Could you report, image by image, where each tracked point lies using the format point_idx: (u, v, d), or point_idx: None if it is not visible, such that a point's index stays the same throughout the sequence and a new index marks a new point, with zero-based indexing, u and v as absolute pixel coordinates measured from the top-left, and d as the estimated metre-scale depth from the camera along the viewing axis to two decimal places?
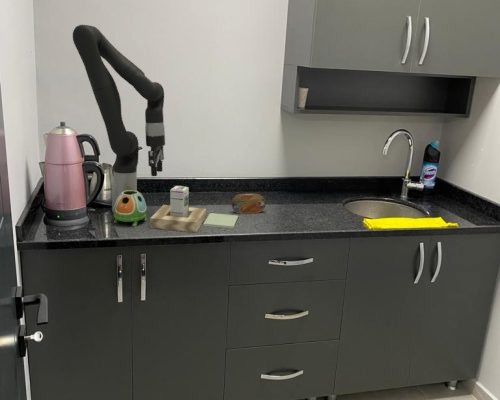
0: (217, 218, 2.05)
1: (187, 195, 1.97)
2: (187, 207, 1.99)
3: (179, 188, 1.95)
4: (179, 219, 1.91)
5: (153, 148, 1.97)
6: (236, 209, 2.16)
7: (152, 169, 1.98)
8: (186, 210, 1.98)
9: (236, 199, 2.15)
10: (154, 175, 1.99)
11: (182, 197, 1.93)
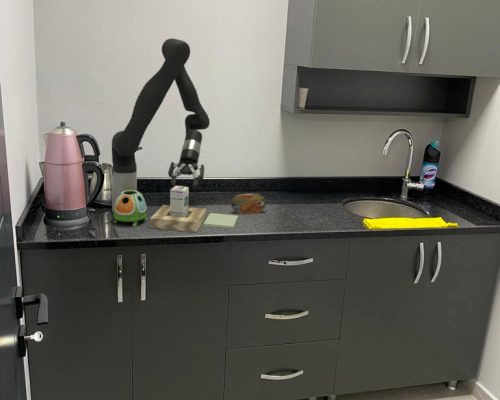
0: (217, 218, 2.05)
1: (187, 195, 1.97)
2: (187, 207, 1.99)
3: (179, 188, 1.95)
4: (179, 219, 1.91)
5: None
6: (236, 209, 2.16)
7: (197, 181, 2.02)
8: (186, 210, 1.98)
9: (236, 199, 2.15)
10: (194, 187, 2.01)
11: (182, 196, 1.93)
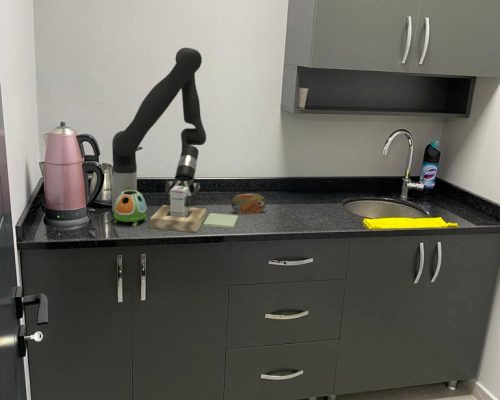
0: (217, 218, 2.05)
1: (187, 195, 1.97)
2: (187, 207, 1.99)
3: (179, 188, 1.95)
4: (179, 219, 1.91)
5: None
6: (236, 209, 2.16)
7: (190, 199, 1.97)
8: (186, 210, 1.98)
9: (236, 199, 2.15)
10: (187, 205, 1.96)
11: (182, 196, 1.93)
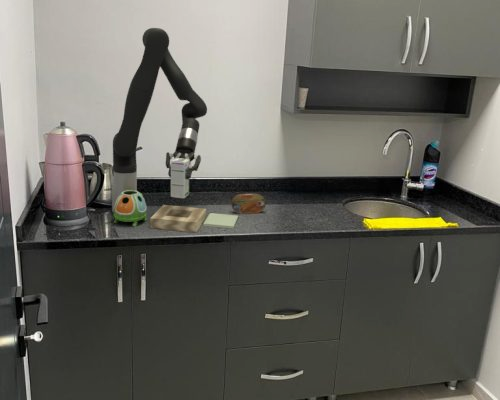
0: (217, 218, 2.05)
1: (188, 167, 1.94)
2: (188, 180, 1.96)
3: (180, 160, 1.92)
4: (179, 219, 1.91)
5: (193, 153, 1.98)
6: (236, 209, 2.16)
7: (191, 172, 1.94)
8: (187, 183, 1.95)
9: (236, 199, 2.15)
10: (188, 178, 1.93)
11: (183, 168, 1.90)
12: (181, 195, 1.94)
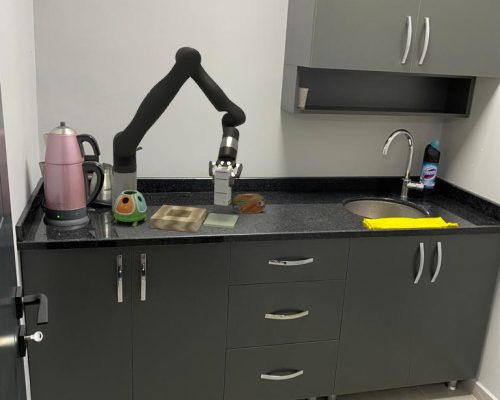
0: (217, 218, 2.05)
1: (230, 176, 1.99)
2: (230, 187, 2.01)
3: (223, 168, 1.97)
4: (179, 219, 1.91)
5: (235, 162, 2.03)
6: (236, 209, 2.16)
7: (234, 180, 1.99)
8: (230, 190, 2.00)
9: (236, 199, 2.15)
10: (231, 186, 1.98)
11: (227, 177, 1.96)
12: (225, 203, 1.99)
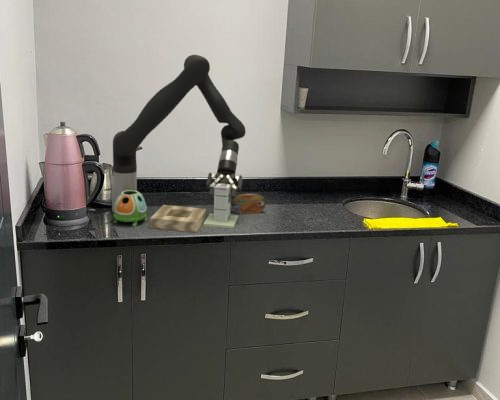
0: None
1: (230, 192, 2.01)
2: (230, 204, 2.03)
3: (223, 185, 1.99)
4: (179, 219, 1.91)
5: (234, 175, 2.05)
6: (236, 209, 2.16)
7: (235, 192, 2.00)
8: (229, 207, 2.02)
9: (236, 199, 2.15)
10: (233, 198, 2.00)
11: (227, 193, 1.98)
12: (224, 219, 2.01)
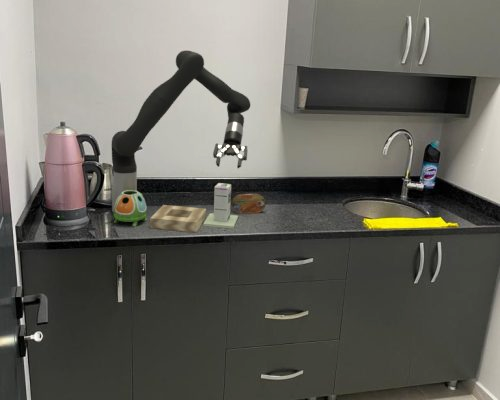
0: None
1: (230, 192, 2.01)
2: (230, 204, 2.03)
3: (223, 185, 1.99)
4: (179, 219, 1.91)
5: (240, 145, 2.14)
6: (236, 209, 2.16)
7: (241, 161, 2.10)
8: (229, 207, 2.02)
9: (236, 199, 2.15)
10: None
11: (227, 193, 1.98)
12: (224, 219, 2.01)
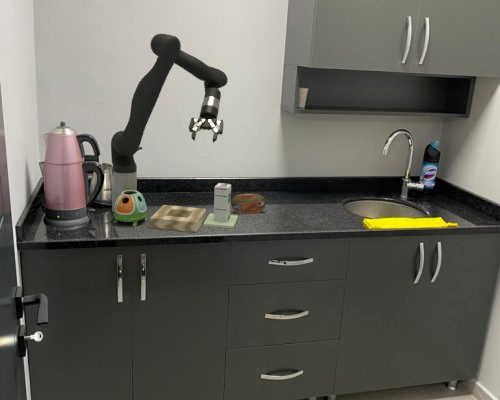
0: None
1: (230, 192, 2.01)
2: (230, 204, 2.03)
3: (223, 185, 1.99)
4: (179, 219, 1.91)
5: (216, 120, 2.14)
6: (236, 209, 2.16)
7: (216, 135, 2.09)
8: (229, 207, 2.02)
9: (236, 199, 2.15)
10: (214, 140, 2.09)
11: (227, 193, 1.98)
12: (224, 219, 2.01)
